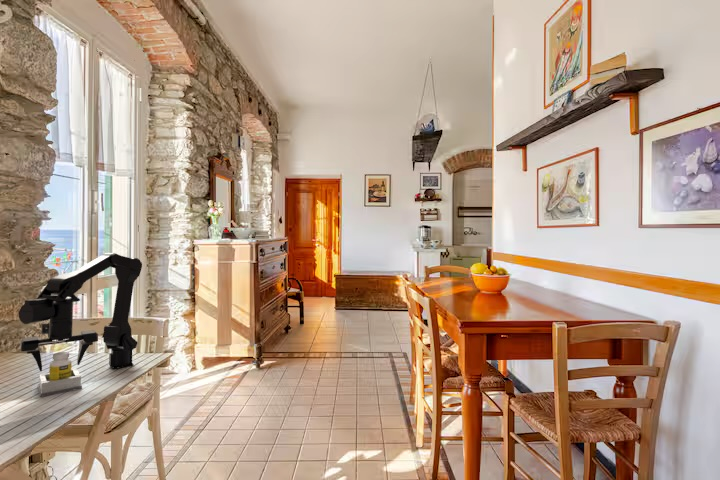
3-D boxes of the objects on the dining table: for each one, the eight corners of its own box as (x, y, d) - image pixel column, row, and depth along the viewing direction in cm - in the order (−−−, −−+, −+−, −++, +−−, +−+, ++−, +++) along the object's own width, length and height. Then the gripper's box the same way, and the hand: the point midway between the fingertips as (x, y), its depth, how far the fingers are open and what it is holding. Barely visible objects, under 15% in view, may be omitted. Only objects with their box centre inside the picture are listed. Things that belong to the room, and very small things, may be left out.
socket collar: (77, 379, 127) (77, 367, 127) (81, 388, 120) (82, 376, 120) (37, 386, 121) (38, 374, 121) (40, 396, 113) (40, 383, 113)
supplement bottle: (58, 388, 117) (59, 356, 117) (44, 387, 118) (45, 355, 118) (75, 382, 123) (76, 351, 123) (61, 381, 124) (61, 350, 124)
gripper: (92, 310, 132) (91, 356, 132) (20, 316, 120) (19, 367, 120) (98, 315, 124) (97, 364, 124) (21, 323, 112) (20, 377, 112)
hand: (60, 367), depth 120 cm, fingers open, 9 cm apart
